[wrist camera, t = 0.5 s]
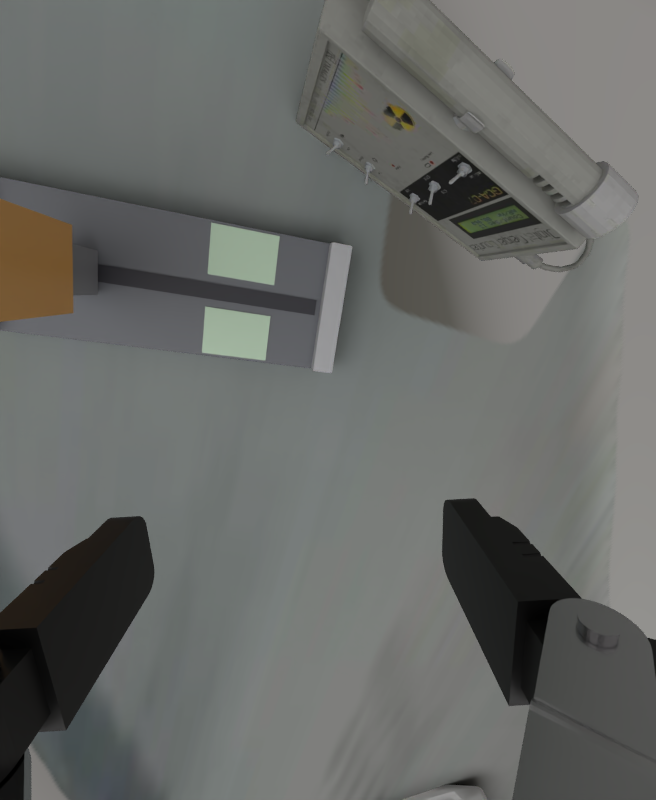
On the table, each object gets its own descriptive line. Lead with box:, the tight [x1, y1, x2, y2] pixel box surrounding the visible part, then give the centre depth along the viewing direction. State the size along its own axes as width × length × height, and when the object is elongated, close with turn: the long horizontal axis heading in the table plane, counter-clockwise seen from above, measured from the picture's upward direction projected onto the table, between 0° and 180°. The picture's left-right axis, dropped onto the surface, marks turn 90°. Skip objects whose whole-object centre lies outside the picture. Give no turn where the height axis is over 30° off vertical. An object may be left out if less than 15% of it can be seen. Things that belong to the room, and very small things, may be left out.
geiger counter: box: [296, 0, 638, 272], centre depth 25 cm, size 14×6×25 cm
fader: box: [0, 199, 98, 322], centre depth 19 cm, size 3×5×14 cm, turn 171°
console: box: [0, 177, 353, 373], centre depth 28 cm, size 26×10×3 cm, turn 81°
